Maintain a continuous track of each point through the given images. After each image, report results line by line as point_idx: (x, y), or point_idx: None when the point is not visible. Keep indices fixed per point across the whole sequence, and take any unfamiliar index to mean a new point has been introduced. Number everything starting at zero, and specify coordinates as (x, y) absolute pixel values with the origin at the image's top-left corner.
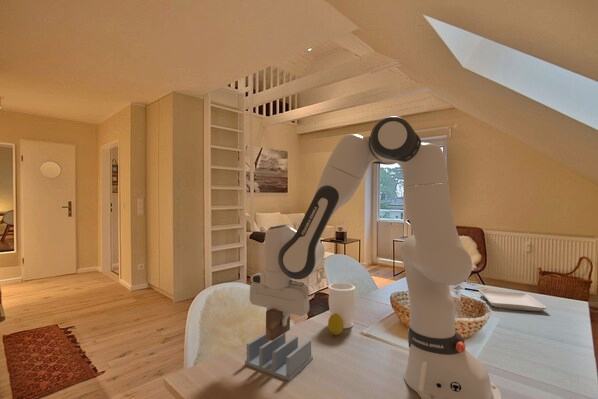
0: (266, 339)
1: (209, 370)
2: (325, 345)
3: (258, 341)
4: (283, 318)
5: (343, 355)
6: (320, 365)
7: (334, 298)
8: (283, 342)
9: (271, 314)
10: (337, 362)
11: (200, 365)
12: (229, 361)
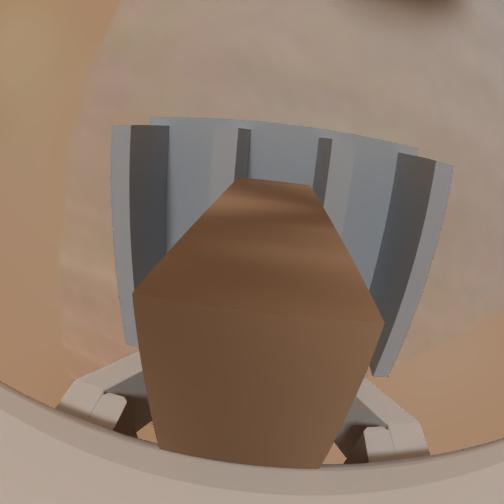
0: (144, 198)
1: (100, 357)
2: (407, 5)
3: (139, 276)
4: (340, 441)
5: (499, 78)
6: (452, 184)
7: None
8: (244, 151)
9: None
10: (497, 139)
11: (64, 343)
12: (100, 302)
